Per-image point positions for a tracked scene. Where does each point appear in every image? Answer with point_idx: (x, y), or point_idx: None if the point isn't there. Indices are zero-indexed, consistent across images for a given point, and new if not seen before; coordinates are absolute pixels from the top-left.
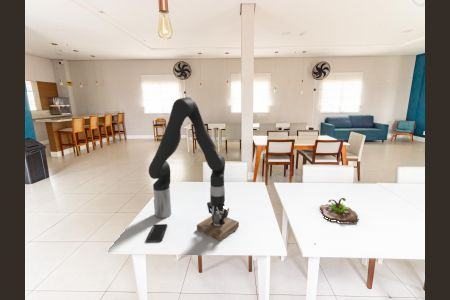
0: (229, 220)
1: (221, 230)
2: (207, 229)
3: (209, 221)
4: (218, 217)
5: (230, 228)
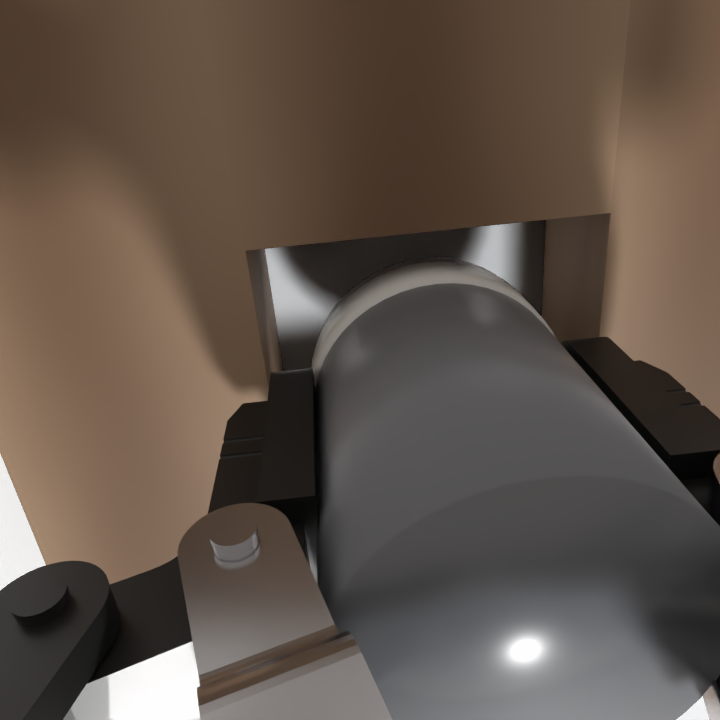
0: None
1: (53, 201)
2: None
3: (707, 289)
4: (351, 500)
5: (12, 456)
